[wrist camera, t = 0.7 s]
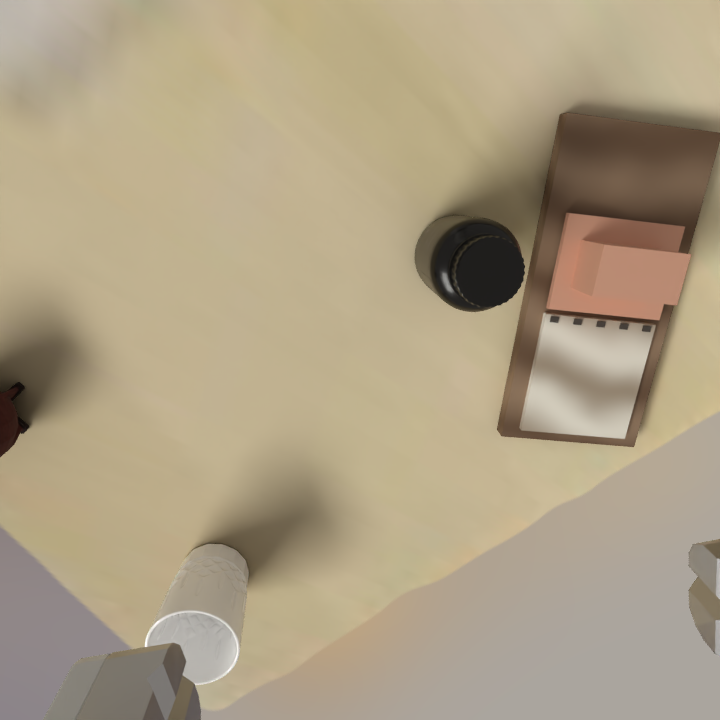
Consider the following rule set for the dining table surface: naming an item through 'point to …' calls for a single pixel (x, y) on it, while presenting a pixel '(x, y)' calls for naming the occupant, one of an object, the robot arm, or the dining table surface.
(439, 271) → the supplement bottle
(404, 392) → the dining table surface
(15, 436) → the mate gourd
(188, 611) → the white cup
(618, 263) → the stub
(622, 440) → the ticket board
